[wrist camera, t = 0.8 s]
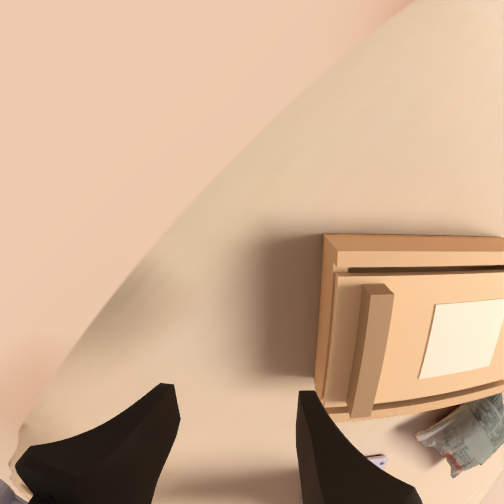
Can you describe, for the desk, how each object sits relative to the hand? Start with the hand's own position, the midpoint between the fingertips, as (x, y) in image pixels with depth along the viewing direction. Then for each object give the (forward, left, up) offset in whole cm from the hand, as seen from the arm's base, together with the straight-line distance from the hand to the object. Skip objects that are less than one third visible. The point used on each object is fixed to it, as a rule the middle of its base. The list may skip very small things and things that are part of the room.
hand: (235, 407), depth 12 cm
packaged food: (-14, -21, -10) cm, 27 cm away
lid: (0, -12, -5) cm, 13 cm away
